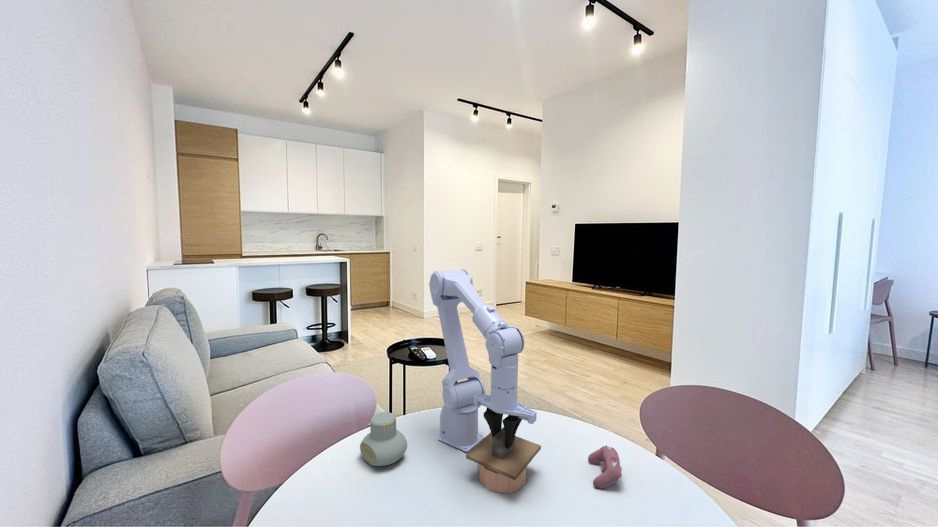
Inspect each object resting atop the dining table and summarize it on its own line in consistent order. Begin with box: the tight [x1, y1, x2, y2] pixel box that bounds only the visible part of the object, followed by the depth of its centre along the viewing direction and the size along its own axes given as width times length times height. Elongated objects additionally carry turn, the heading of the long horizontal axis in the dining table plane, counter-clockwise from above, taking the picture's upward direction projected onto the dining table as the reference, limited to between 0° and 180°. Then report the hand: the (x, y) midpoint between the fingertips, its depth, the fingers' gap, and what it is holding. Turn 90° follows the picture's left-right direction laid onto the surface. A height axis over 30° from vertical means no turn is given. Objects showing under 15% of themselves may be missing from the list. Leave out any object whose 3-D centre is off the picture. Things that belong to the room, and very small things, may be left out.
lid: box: [465, 426, 542, 480], centre depth 80 cm, size 12×12×5 cm
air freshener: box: [359, 411, 408, 467], centre depth 86 cm, size 11×8×10 cm
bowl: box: [478, 464, 527, 494], centre depth 81 cm, size 10×10×4 cm
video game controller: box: [587, 444, 623, 489], centre depth 81 cm, size 10×5×7 cm, turn 169°
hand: (503, 444), depth 80 cm, fingers closed on lid, 2 cm apart
